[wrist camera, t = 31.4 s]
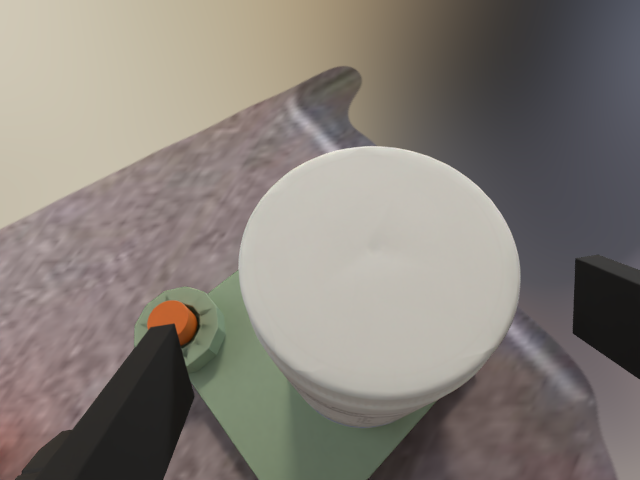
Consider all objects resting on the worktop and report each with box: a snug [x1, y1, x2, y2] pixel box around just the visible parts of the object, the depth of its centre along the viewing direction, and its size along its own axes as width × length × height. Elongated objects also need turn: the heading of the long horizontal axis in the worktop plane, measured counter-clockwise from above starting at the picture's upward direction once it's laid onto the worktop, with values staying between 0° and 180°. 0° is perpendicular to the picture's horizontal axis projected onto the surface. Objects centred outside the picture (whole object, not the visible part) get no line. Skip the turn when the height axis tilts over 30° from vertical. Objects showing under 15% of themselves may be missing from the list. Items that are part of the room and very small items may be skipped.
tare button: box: [147, 300, 197, 346], centre depth 24 cm, size 3×3×2 cm
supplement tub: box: [239, 146, 520, 428], centre depth 19 cm, size 10×10×15 cm
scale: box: [134, 270, 437, 480], centre depth 26 cm, size 17×16×4 cm
